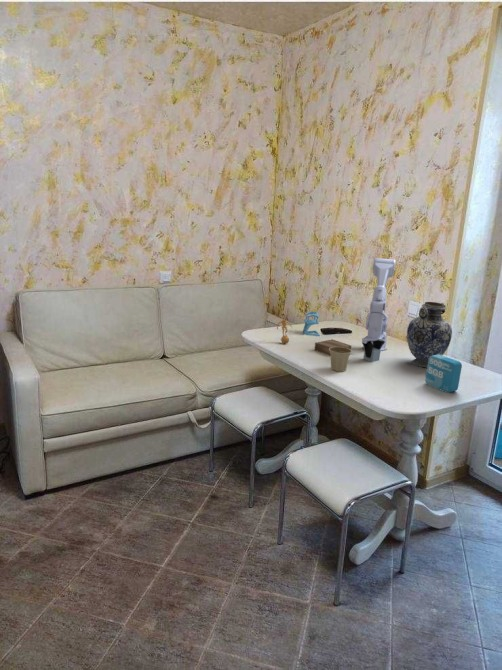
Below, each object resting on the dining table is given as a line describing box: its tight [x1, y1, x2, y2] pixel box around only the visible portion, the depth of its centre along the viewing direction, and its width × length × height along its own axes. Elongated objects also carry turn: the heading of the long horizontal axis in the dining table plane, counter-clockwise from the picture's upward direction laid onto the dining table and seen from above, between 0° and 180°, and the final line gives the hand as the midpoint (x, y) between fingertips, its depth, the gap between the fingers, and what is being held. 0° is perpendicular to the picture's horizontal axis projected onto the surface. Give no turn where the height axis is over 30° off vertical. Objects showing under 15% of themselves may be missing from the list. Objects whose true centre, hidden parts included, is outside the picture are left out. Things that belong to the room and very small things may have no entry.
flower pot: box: [329, 347, 353, 372], centre depth 201 cm, size 9×9×9 cm
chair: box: [301, 311, 320, 337], centre depth 256 cm, size 8×8×12 cm
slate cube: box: [363, 348, 381, 363], centre depth 218 cm, size 5×5×5 cm
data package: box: [425, 355, 463, 393], centre depth 186 cm, size 12×4×12 cm, turn 30°
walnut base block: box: [314, 338, 352, 356], centre depth 227 cm, size 12×12×4 cm
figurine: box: [276, 318, 293, 344], centre depth 236 cm, size 8×6×12 cm
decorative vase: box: [406, 301, 453, 369], centre depth 212 cm, size 21×19×28 cm
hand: (371, 356), depth 218 cm, fingers closed on slate cube, 5 cm apart
